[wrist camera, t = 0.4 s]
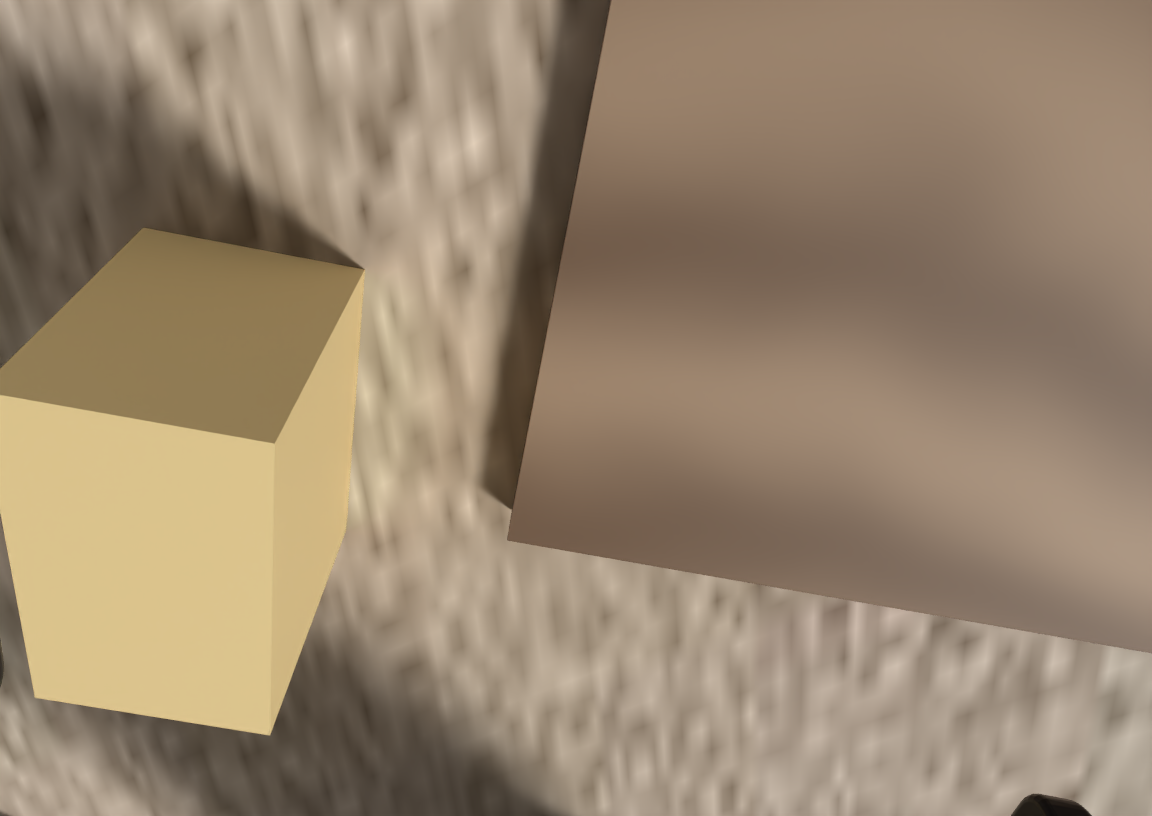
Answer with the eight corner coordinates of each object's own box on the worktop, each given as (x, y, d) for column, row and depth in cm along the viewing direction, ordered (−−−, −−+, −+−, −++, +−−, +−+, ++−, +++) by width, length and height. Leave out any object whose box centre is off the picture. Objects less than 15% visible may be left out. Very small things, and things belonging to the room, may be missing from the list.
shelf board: (1164, 626, 24) (1224, 729, 22) (511, 511, 23) (496, 604, 21) (1672, -63, 15) (1871, -25, 13) (666, -289, 15) (671, -295, 12)
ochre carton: (365, 267, 20) (274, 443, 15) (347, 527, 24) (270, 735, 19) (134, 224, 20) (-36, 388, 15) (153, 494, 24) (23, 696, 19)
